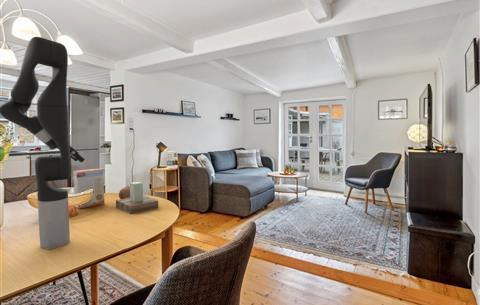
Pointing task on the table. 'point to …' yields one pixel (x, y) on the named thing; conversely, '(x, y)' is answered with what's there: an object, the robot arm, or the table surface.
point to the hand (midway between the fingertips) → (80, 160)
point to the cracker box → (90, 185)
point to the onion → (124, 193)
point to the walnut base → (136, 204)
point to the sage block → (136, 191)
